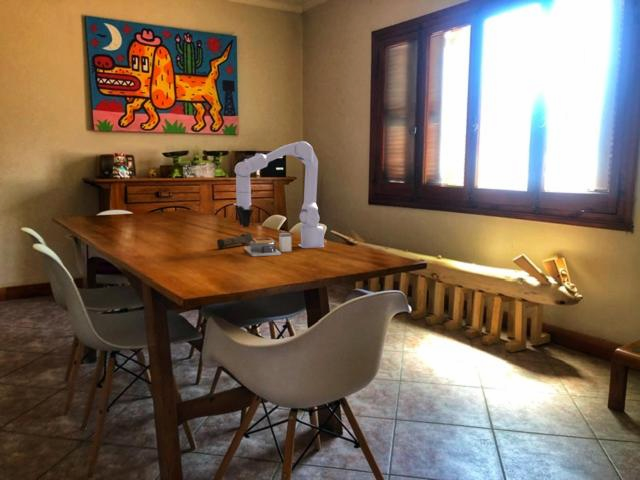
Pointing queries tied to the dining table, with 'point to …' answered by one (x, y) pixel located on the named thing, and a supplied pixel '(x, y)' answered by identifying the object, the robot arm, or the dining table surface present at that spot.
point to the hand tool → (235, 240)
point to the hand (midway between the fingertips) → (244, 225)
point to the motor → (262, 247)
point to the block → (284, 242)
